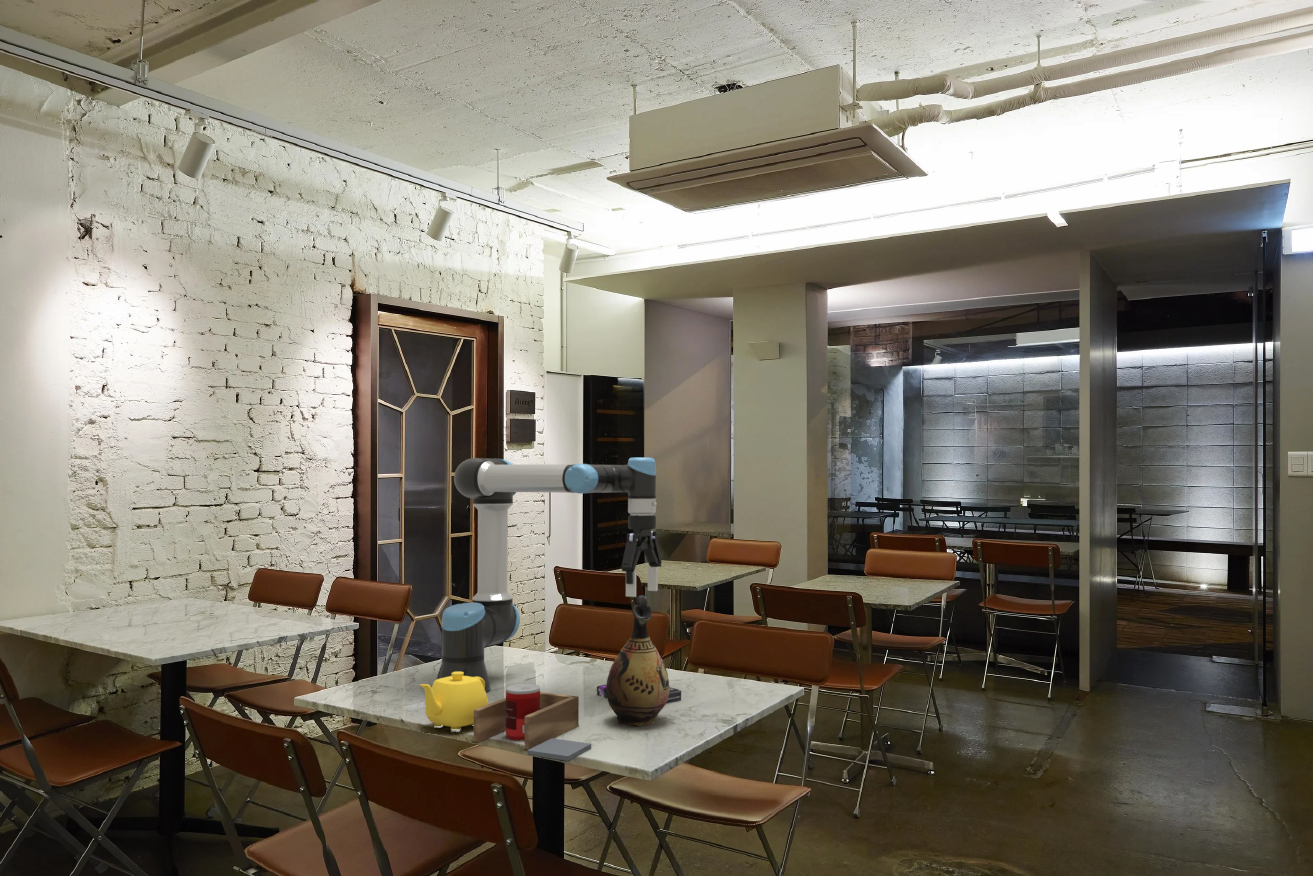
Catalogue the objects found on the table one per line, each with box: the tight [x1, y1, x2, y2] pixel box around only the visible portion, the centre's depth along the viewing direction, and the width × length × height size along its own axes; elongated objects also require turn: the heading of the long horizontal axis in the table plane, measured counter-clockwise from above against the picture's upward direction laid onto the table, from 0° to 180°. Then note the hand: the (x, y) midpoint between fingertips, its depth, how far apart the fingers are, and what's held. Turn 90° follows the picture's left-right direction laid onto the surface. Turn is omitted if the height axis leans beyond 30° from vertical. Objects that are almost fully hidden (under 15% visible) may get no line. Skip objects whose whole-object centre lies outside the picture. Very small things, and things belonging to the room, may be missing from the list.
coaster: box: [526, 738, 592, 762], centre depth 198 cm, size 10×10×1 cm
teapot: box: [419, 672, 489, 730], centre depth 217 cm, size 14×20×13 cm
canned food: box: [505, 683, 541, 741], centre depth 210 cm, size 8×8×11 cm
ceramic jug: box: [605, 594, 671, 728], centre depth 224 cm, size 17×15×30 cm
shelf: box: [472, 691, 580, 750], centre depth 212 cm, size 15×21×7 cm
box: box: [596, 684, 682, 705], centre depth 246 cm, size 14×4×20 cm
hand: (642, 593), depth 247 cm, fingers open, 13 cm apart
